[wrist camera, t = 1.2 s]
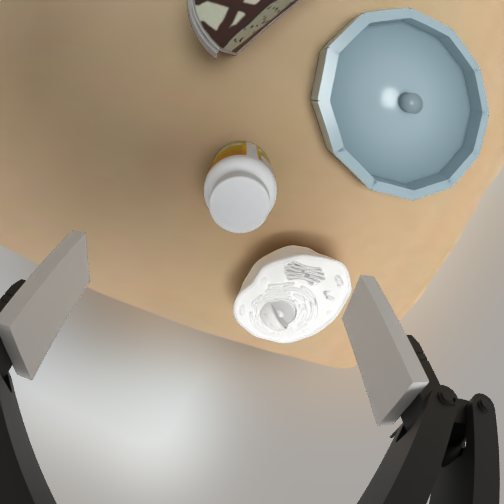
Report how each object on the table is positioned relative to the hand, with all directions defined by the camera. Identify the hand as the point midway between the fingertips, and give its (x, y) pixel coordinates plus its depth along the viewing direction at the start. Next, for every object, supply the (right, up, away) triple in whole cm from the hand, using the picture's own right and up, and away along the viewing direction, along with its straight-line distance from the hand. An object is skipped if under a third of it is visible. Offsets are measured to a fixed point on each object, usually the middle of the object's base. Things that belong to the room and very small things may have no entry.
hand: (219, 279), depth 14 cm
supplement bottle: (0, +9, +15) cm, 17 cm away
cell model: (+5, -1, +20) cm, 21 cm away
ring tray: (+16, +16, +11) cm, 25 cm away
